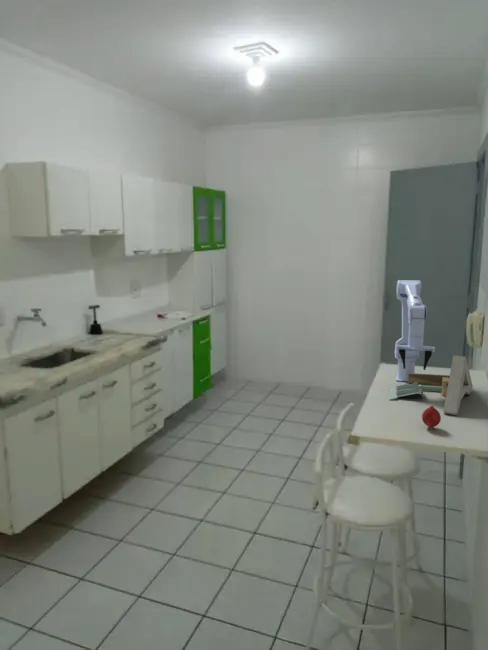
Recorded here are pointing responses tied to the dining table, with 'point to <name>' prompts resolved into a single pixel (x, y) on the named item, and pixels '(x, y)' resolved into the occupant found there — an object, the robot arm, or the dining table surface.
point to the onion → (431, 417)
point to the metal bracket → (405, 390)
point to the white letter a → (457, 384)
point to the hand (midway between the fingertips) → (414, 368)
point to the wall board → (426, 379)
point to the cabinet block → (444, 386)
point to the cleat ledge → (432, 388)
